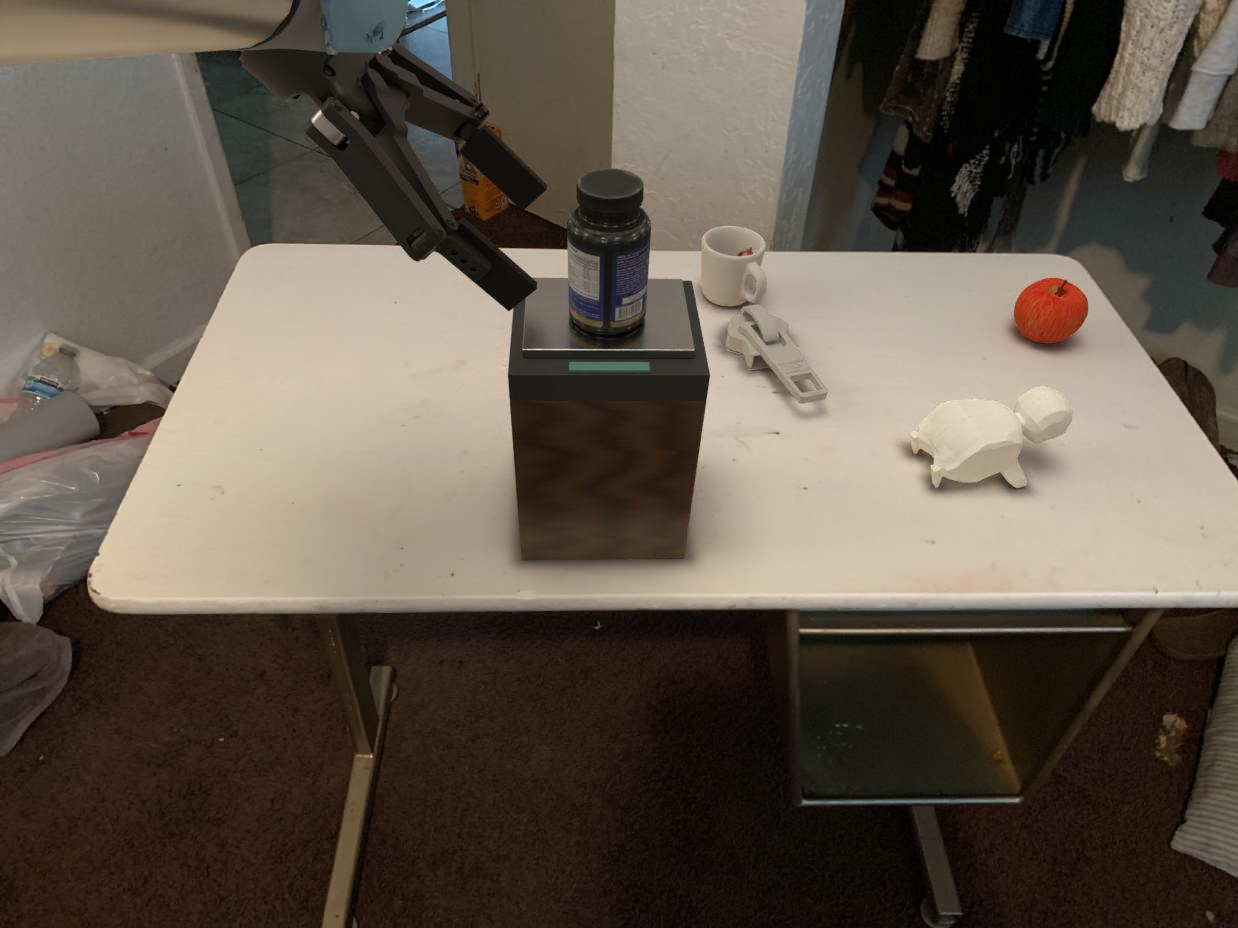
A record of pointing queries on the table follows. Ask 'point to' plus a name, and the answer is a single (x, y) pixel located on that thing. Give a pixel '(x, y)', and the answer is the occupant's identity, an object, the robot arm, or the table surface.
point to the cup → (732, 266)
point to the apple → (1050, 310)
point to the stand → (605, 477)
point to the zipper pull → (772, 350)
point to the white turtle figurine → (989, 434)
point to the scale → (608, 350)
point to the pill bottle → (608, 252)
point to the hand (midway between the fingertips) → (529, 244)
